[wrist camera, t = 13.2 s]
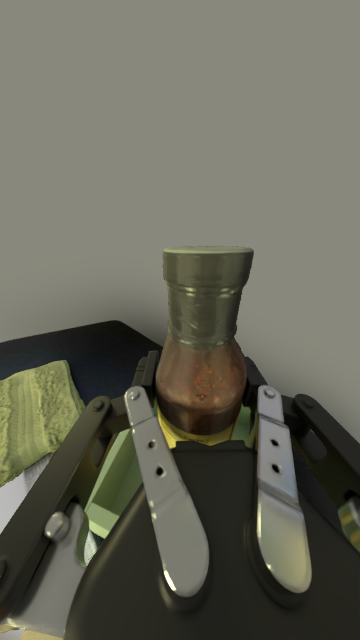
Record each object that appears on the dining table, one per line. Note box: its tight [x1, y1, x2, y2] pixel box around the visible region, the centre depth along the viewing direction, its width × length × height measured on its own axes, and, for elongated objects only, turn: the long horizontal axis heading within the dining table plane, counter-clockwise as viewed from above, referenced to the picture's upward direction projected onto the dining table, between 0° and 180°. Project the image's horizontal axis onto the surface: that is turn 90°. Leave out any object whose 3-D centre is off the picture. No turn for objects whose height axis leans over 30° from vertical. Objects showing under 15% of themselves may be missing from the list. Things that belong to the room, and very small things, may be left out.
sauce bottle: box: [154, 246, 254, 449], centre depth 12 cm, size 6×6×20 cm
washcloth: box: [0, 360, 86, 487], centre depth 22 cm, size 13×18×3 cm
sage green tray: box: [84, 397, 251, 539], centre depth 16 cm, size 15×14×6 cm
